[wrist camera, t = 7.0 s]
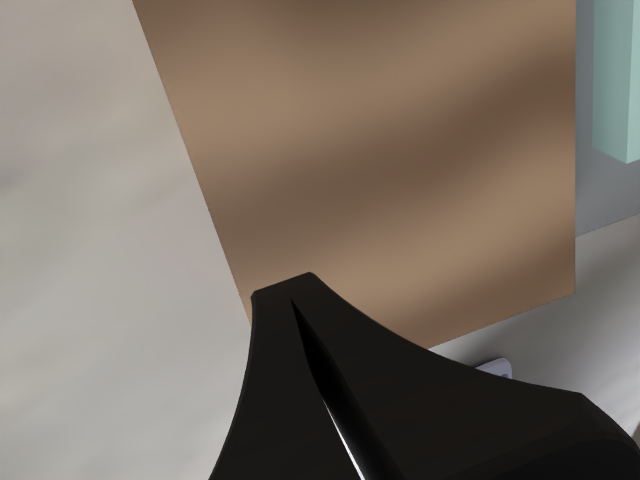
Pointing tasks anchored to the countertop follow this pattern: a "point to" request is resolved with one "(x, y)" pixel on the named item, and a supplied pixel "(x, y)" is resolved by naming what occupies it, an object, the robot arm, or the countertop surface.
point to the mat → (590, 163)
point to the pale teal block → (616, 79)
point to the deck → (383, 148)
